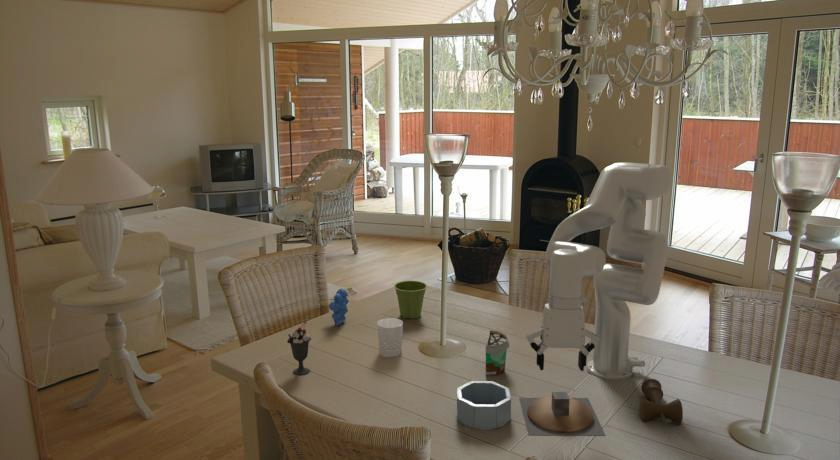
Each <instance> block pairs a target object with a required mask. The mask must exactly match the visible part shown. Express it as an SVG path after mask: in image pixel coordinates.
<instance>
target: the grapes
mask: <svg viewBox="0 0 840 460" xmlns="http://www.w3.org/2000/svg"><path fill="white" fill-rule="evenodd" d="M348 295H349V294H348V292H347V291H346V290H345V289H343V288H339V289H338V290H337V291H336V293H335V295H334V296H333V300H334V301H331V302H330V303H329V304H328V308H329V310H330V311H332V312H333V313H331V314H332V315H331V318H332V319H333V322H334V324H335V325H337V326H340V325H341V324H342V323H344V321H346V316H345V315H346V314H347V313H348V311H349V309H348V307H347V305H348V303H349V302H350V300H349V299H348Z"/></svg>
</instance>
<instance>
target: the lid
mask: <svg viewBox="0 0 840 460" xmlns="http://www.w3.org/2000/svg"><path fill="white" fill-rule="evenodd" d="M538 398H539V399H536V400H534V401H533V402H531V403H530V404H529V406H528V409H527V414H528V418H529V419H530V420H531V421H532V422H533V423H534V424H535V425H537V426H539V427H540V428H543V429H545V430H549V431H553V432H559V433H574V432H579V431H583V430H585V429H587V428H588V427H590V426H591V424H592V423H593V412H592V410H591V409H590V408H589V407H588V406H587V405H585V404H584V403H582V402H580V401H578V400H575V399H571V398H572V397H569V394H568V392H566V391H551V395H550V396H549V395H548V396H544V397H538Z"/></svg>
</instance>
